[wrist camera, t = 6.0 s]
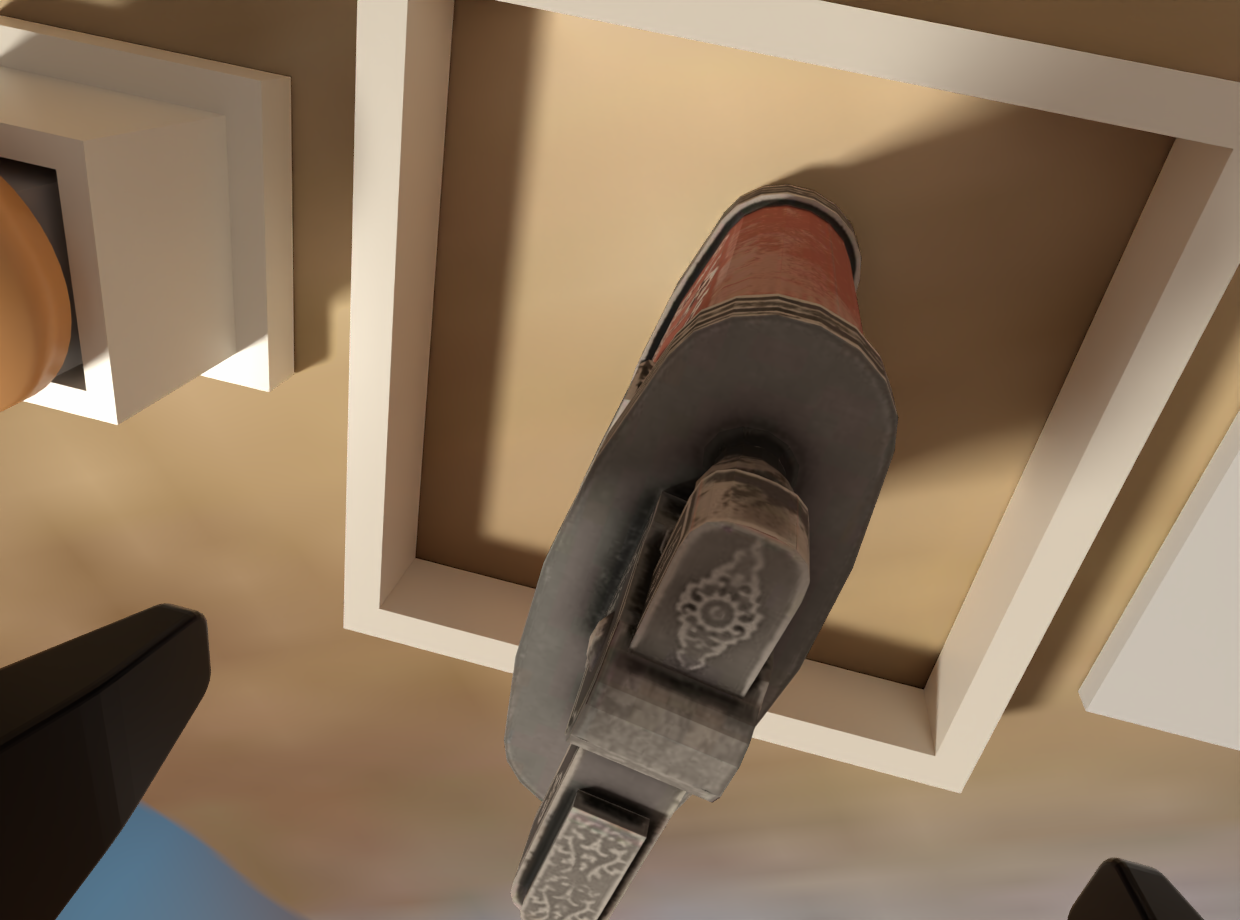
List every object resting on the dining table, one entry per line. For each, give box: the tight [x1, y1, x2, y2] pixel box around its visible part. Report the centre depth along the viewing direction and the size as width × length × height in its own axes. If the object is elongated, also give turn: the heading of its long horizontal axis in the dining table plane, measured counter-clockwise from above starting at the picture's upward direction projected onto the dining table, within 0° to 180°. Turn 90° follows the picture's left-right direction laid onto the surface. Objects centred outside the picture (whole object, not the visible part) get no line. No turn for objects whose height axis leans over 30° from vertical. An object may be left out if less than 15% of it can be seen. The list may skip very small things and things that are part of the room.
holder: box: [0, 0, 1240, 793], centre depth 16 cm, size 14×22×4 cm, turn 80°
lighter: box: [504, 185, 898, 920], centre depth 13 cm, size 8×3×10 cm, turn 160°
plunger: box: [0, 157, 83, 412], centre depth 14 cm, size 4×4×4 cm
